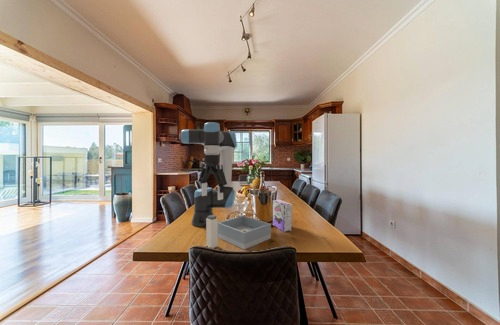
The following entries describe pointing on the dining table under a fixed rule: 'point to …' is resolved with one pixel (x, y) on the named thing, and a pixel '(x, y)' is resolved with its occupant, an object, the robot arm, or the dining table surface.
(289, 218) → the candy box
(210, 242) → the connector
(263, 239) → the walled box
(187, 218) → the dining table surface
